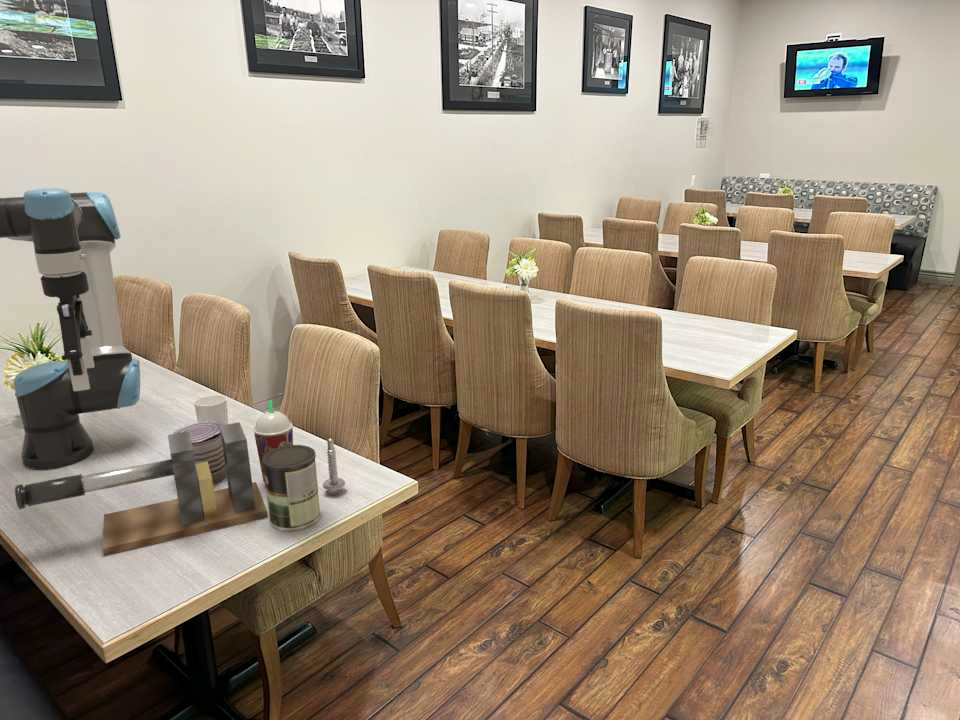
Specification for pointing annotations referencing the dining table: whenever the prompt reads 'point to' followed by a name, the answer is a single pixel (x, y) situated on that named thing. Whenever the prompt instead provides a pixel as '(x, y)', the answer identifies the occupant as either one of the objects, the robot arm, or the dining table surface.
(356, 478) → the dining table surface
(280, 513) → the coffee can
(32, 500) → the shaft
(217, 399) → the white cup
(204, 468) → the collar
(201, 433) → the can
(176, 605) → the dining table surface
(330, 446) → the screw
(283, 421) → the smoothie
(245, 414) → the dining table surface
